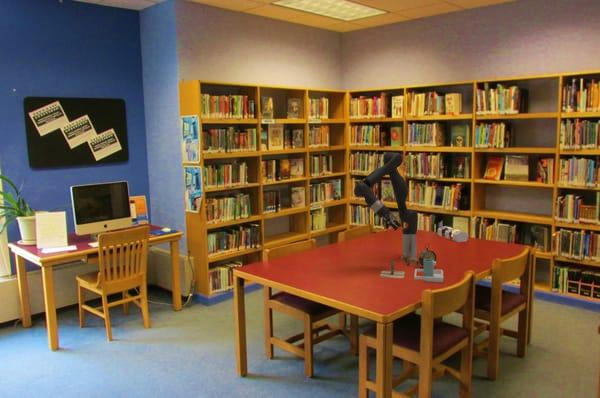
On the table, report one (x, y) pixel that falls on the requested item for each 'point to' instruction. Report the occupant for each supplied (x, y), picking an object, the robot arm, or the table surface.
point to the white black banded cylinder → (453, 233)
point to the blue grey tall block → (429, 267)
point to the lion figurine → (409, 260)
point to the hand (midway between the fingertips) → (398, 228)
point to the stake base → (396, 274)
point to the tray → (436, 279)
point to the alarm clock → (426, 256)
